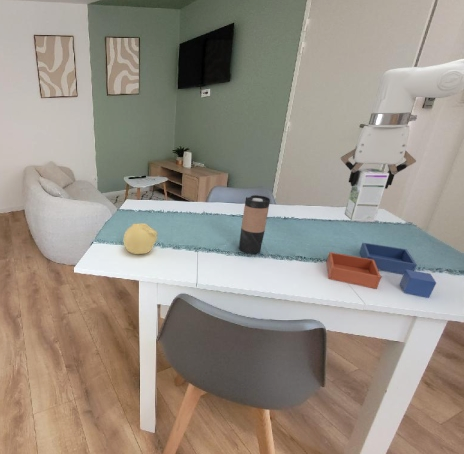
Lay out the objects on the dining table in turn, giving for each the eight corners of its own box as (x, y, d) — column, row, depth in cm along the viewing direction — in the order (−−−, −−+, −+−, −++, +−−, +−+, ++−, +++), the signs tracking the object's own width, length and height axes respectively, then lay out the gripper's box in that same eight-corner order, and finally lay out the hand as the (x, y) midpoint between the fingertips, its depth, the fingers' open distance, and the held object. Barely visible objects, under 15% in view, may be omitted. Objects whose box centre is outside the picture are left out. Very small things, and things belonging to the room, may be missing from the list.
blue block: (423, 288, 82) (430, 273, 80) (429, 298, 78) (436, 282, 76) (399, 283, 85) (405, 269, 83) (403, 292, 81) (410, 277, 79)
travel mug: (262, 255, 103) (272, 202, 96) (238, 253, 106) (246, 201, 98) (259, 246, 110) (268, 195, 102) (237, 244, 113) (244, 194, 105)
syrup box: (374, 222, 84) (391, 172, 79) (350, 220, 86) (364, 172, 80) (366, 215, 89) (381, 168, 83) (342, 214, 91) (356, 168, 85)
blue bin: (402, 259, 97) (406, 249, 95) (412, 276, 88) (416, 264, 86) (359, 252, 102) (362, 242, 101) (364, 267, 94) (368, 256, 92)
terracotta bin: (370, 270, 92) (374, 259, 90) (376, 289, 83) (381, 277, 82) (326, 262, 97) (329, 251, 96) (328, 278, 89) (332, 267, 87)
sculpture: (161, 251, 110) (162, 224, 106) (137, 261, 104) (137, 233, 100) (141, 241, 119) (141, 216, 115) (118, 249, 113) (117, 224, 109)
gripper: (430, 118, 75) (406, 185, 82) (345, 120, 84) (330, 180, 91) (439, 120, 69) (413, 192, 76) (348, 122, 78) (331, 186, 85)
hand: (368, 185), depth 84 cm, fingers closed on syrup box, 6 cm apart
